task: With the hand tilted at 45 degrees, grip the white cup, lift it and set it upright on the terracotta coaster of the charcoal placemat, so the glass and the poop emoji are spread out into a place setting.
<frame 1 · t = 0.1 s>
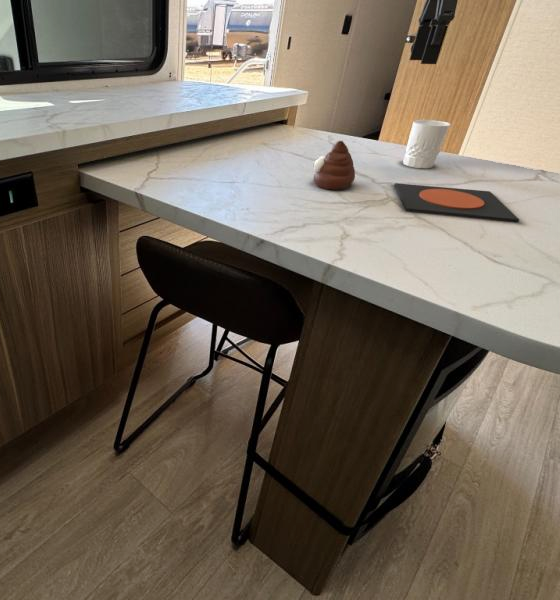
hand: (421, 62, 90), 23 cm above the table, tool pointing down, fingers open, 13 cm apart
placemat: (449, 202, 82), on the table
poop emoji: (331, 184, 92), on the table
white cup: (417, 165, 105), on the table
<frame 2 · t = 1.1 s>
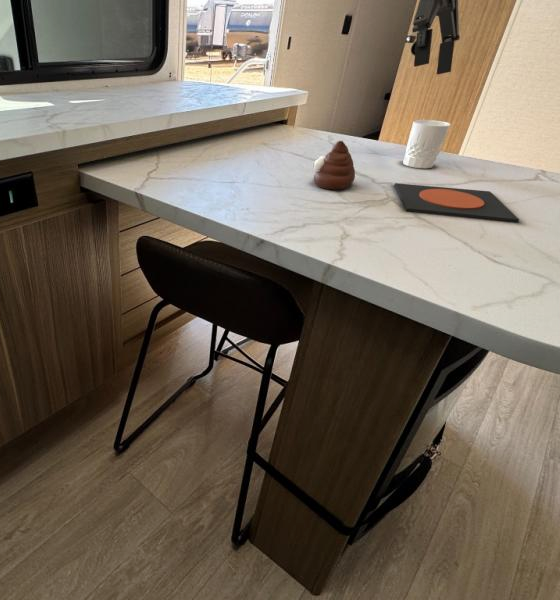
hand: (432, 69, 94), 21 cm above the table, tool tilted 20°, fingers open, 13 cm apart
nothing on the table moved.
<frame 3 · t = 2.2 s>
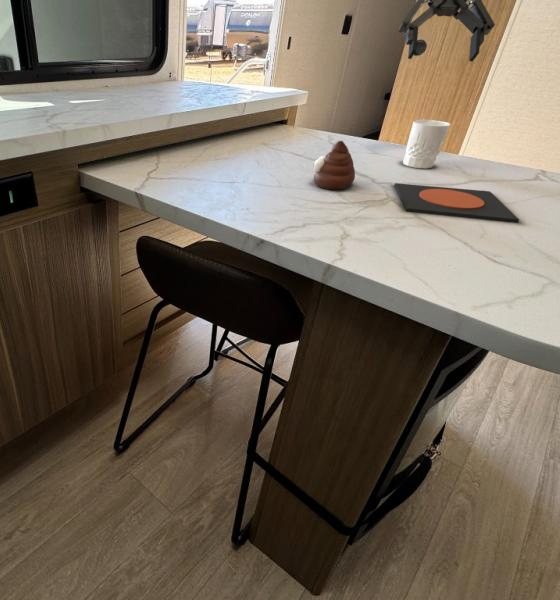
hand: (442, 56, 99), 23 cm above the table, tool tilted 45°, fingers open, 13 cm apart
nothing on the table moved.
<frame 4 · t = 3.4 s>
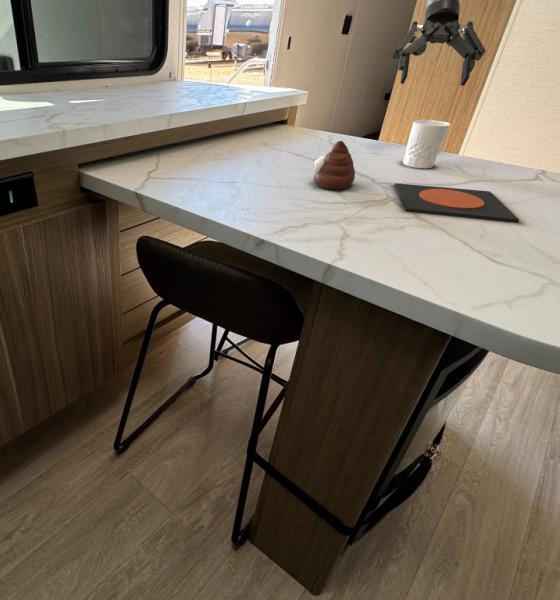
hand: (433, 81, 103), 18 cm above the table, tool tilted 45°, fingers open, 13 cm apart
nothing on the table moved.
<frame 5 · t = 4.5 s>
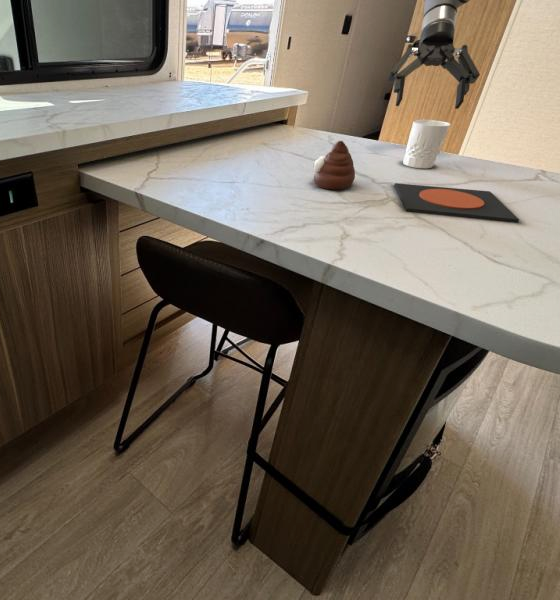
hand: (428, 103, 104), 13 cm above the table, tool tilted 45°, fingers open, 13 cm apart
nothing on the table moved.
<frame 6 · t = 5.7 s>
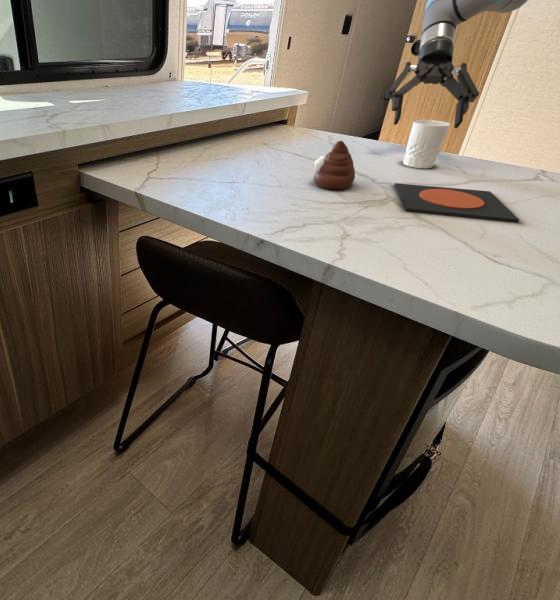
hand: (427, 123, 103), 9 cm above the table, tool tilted 45°, fingers open, 13 cm apart
nothing on the table moved.
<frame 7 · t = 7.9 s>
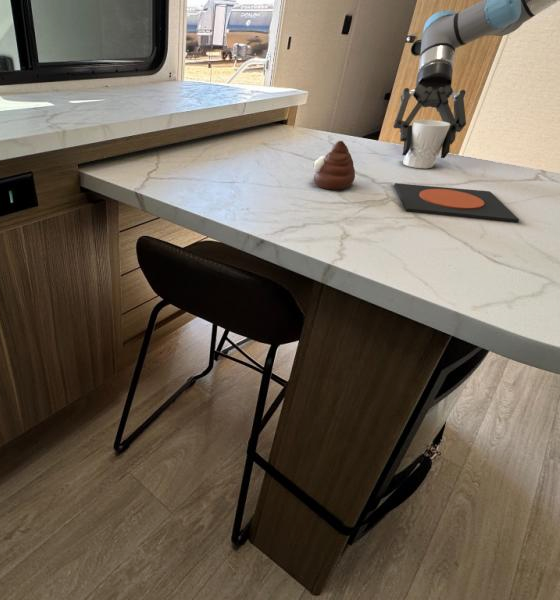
hand: (425, 153, 100), 4 cm above the table, tool tilted 45°, fingers closed on white cup, 8 cm apart
white cup: (417, 165, 105), on the table, touching gripper
everything else where it was.
when the fingers open (5 cm above the table, at t = 17.2 s): white cup stays where it is, resting on placemat.
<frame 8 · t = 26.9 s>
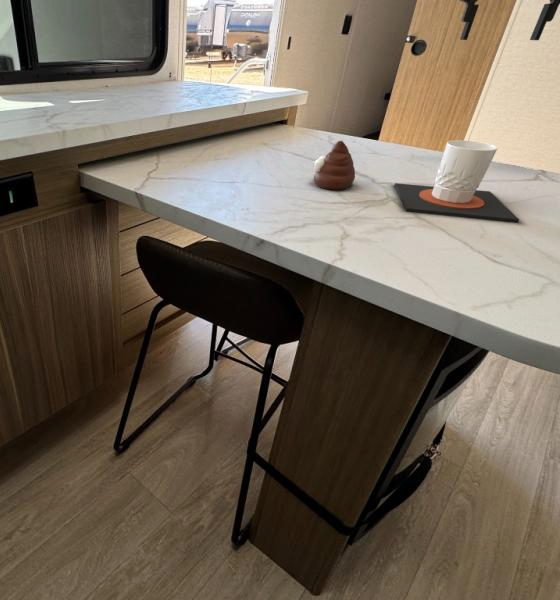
hand: (497, 40, 92), 27 cm above the table, tool pointing down, fingers open, 13 cm apart
white cup: (450, 198, 82), point 1 cm above the table, touching placemat
everything else where it was.
at the end: white cup 0.0 cm off-centre on the placemat, point 0.7 cm above the placemat's base; white cup tilted 0°; poop emoji moved 0.2 cm from its start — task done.
